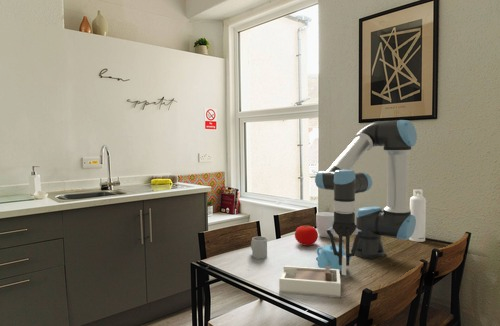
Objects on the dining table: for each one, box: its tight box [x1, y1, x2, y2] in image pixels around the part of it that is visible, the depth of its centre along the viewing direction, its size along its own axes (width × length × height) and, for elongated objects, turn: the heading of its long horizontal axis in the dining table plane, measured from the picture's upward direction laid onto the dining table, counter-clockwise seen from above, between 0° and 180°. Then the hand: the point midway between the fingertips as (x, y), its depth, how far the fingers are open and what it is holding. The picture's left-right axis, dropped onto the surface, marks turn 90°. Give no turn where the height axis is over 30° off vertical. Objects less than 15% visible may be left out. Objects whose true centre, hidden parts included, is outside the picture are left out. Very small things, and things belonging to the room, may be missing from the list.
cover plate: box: [295, 265, 333, 282], centre depth 133 cm, size 14×11×4 cm
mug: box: [315, 211, 337, 238], centre depth 203 cm, size 15×11×13 cm
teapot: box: [316, 243, 353, 272], centre depth 150 cm, size 15×14×11 cm
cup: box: [250, 236, 268, 260], centre depth 171 cm, size 7×10×9 cm
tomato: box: [294, 224, 319, 246], centre depth 188 cm, size 11×12×10 cm
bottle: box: [408, 188, 427, 243], centre depth 194 cm, size 8×8×28 cm
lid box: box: [278, 265, 342, 298], centre depth 134 cm, size 22×14×5 cm, turn 77°
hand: (343, 273), depth 131 cm, fingers closed
